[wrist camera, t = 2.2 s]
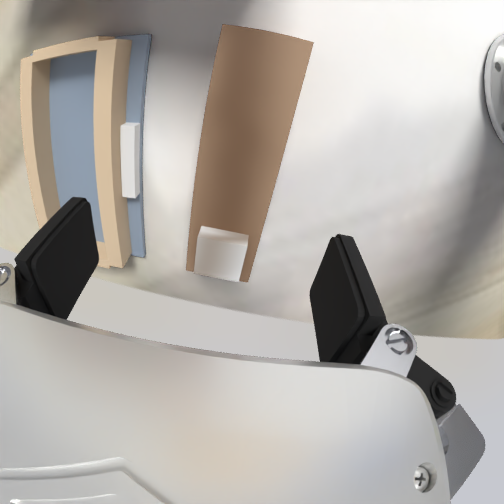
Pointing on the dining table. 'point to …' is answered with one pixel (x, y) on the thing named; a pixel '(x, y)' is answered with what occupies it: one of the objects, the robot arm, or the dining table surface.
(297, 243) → the dining table surface
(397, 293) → the dining table surface
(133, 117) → the cradle
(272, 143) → the long brown block
